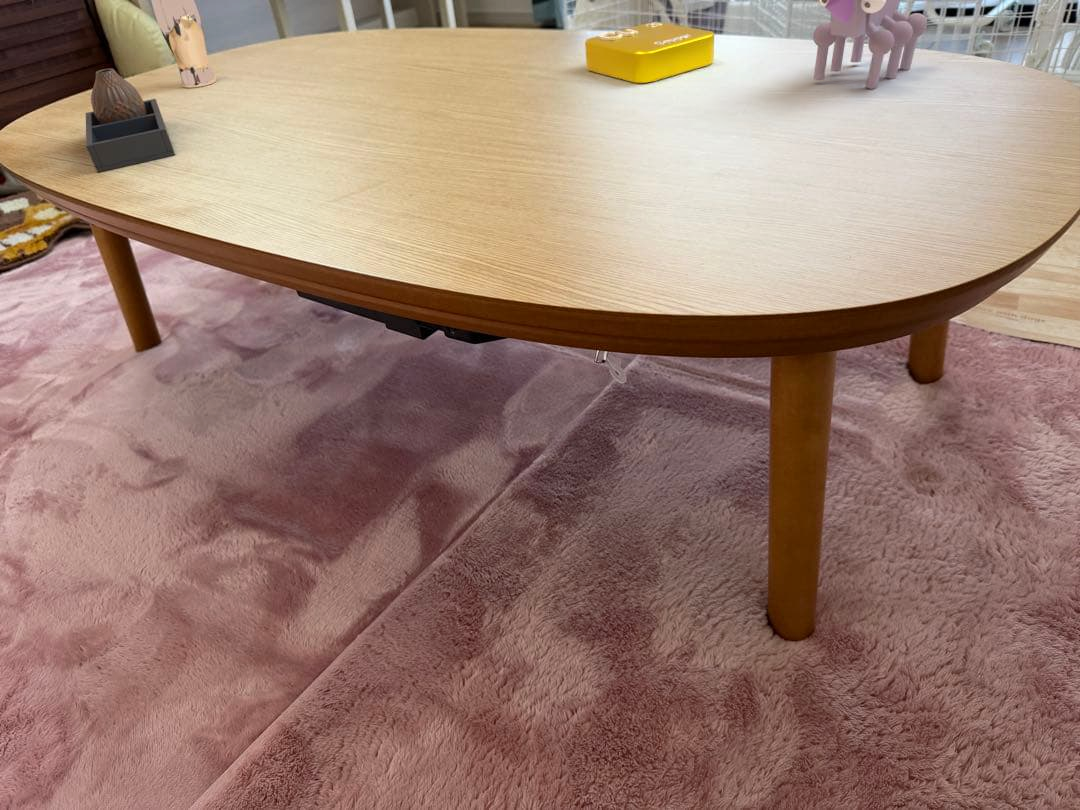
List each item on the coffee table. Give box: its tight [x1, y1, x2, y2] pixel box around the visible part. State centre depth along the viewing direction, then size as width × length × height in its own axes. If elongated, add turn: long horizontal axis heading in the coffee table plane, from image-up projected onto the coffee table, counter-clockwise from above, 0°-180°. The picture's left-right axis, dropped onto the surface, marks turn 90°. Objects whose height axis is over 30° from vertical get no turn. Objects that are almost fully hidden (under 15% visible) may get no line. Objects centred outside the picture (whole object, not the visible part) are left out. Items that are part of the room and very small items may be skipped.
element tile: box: [584, 21, 715, 84], centre depth 123 cm, size 15×15×5 cm
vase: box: [90, 68, 147, 125], centre depth 117 cm, size 7×7×9 cm
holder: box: [85, 98, 176, 173], centre depth 116 cm, size 10×19×4 cm, turn 26°
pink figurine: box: [812, 0, 928, 90], centre depth 103 cm, size 20×11×14 cm, turn 135°
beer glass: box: [150, 0, 218, 89], centre depth 140 cm, size 7×7×15 cm
